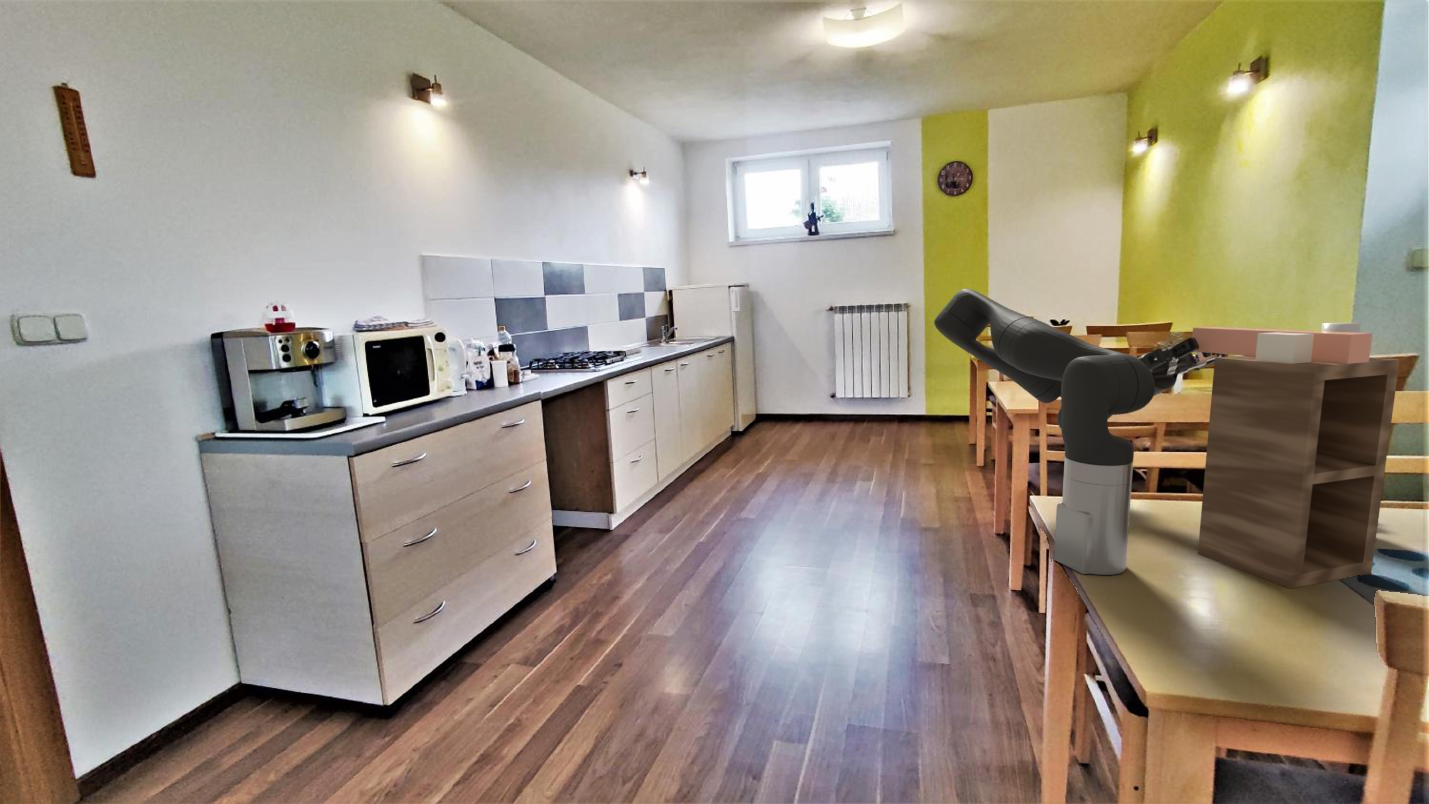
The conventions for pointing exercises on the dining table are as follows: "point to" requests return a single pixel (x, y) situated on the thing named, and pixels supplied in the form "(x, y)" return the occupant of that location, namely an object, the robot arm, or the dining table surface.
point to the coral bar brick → (1324, 343)
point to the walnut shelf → (1296, 467)
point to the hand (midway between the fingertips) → (1216, 341)
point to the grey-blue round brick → (1341, 327)
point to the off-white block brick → (1284, 347)
